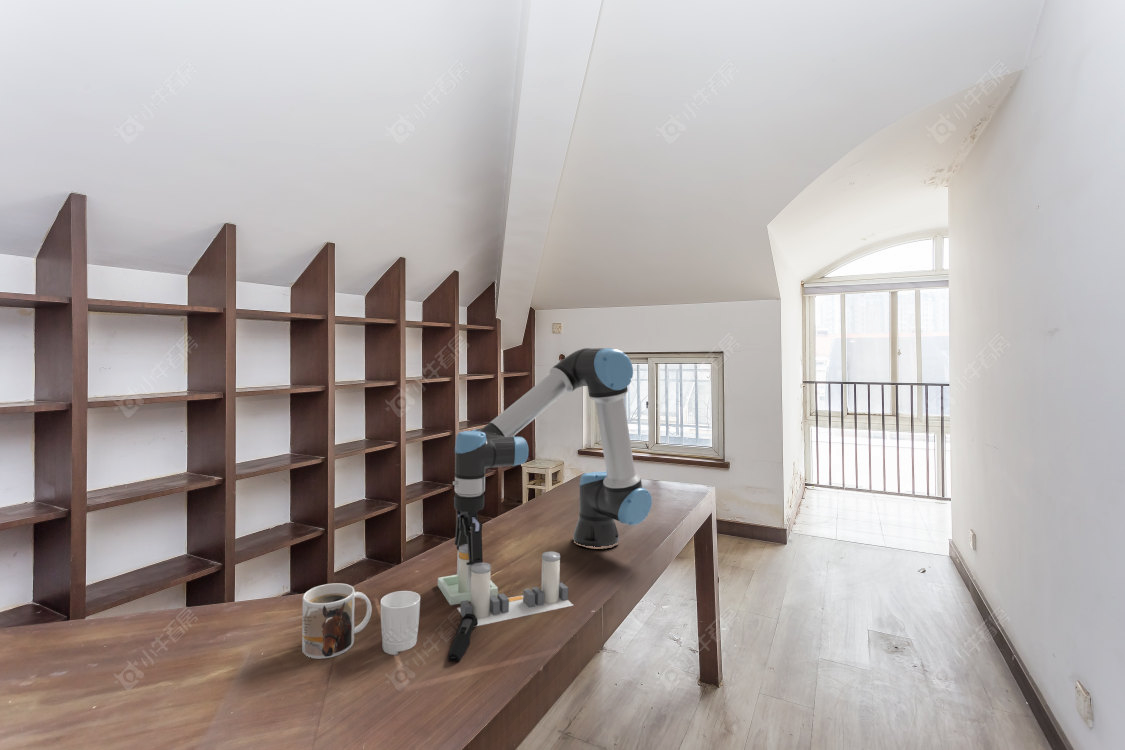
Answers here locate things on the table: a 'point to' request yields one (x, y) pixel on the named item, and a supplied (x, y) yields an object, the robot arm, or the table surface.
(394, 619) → the white cup
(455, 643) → the electric trimmer
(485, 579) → the fuse
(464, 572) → the marked fuse
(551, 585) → the cream grey cylinder
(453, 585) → the tray
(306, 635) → the mug
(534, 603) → the board
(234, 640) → the table surface
